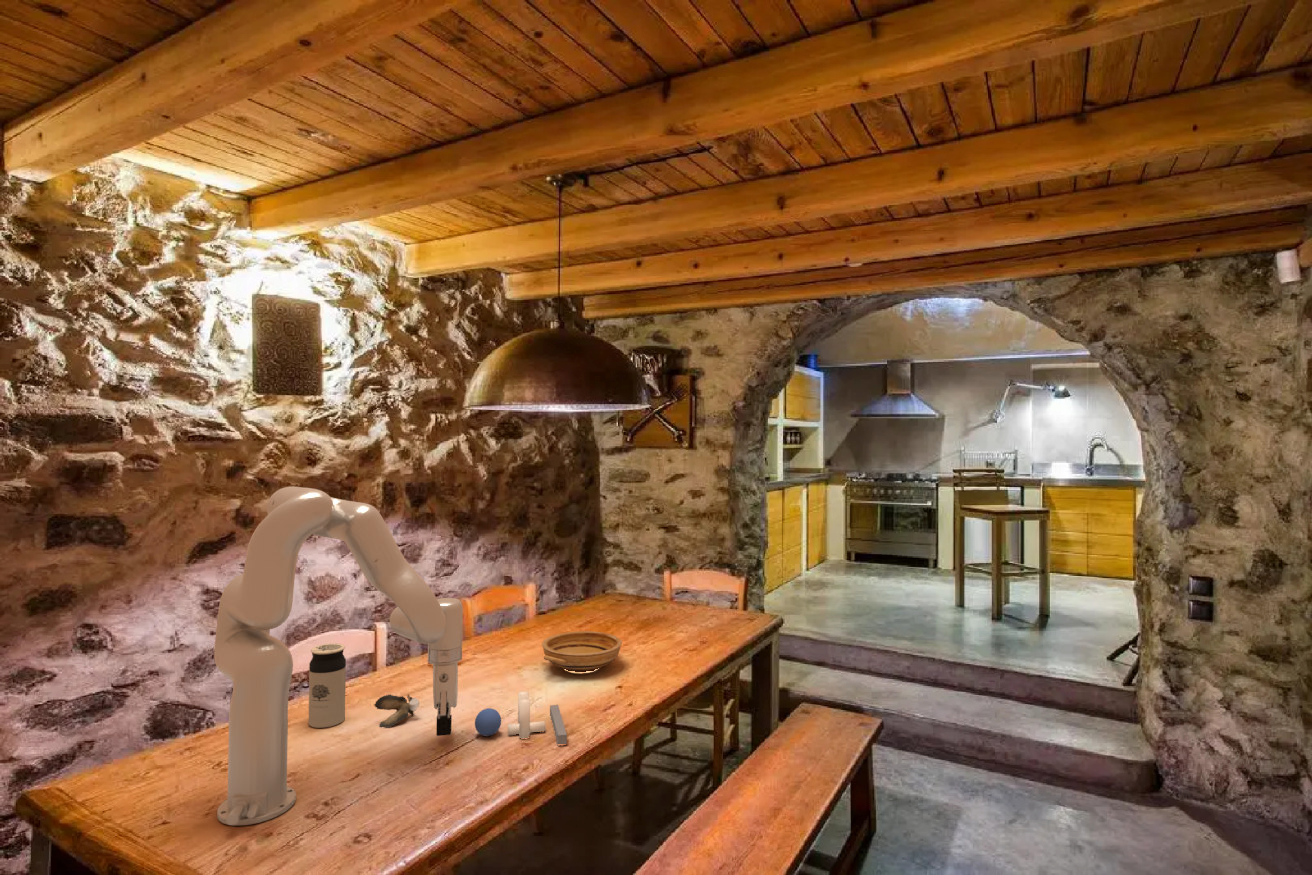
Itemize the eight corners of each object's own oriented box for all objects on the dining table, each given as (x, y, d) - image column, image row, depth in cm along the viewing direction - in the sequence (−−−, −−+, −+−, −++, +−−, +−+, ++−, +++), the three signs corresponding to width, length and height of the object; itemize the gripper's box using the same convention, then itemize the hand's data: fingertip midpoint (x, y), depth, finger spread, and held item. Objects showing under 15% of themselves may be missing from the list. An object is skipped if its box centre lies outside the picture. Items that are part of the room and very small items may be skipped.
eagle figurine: (401, 705, 173) (368, 709, 166) (414, 684, 171) (382, 688, 164) (413, 729, 168) (380, 734, 161) (427, 708, 167) (394, 712, 160)
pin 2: (530, 739, 157) (530, 702, 157) (519, 740, 156) (519, 702, 156) (529, 734, 159) (529, 698, 159) (518, 735, 158) (519, 699, 158)
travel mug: (325, 713, 170) (326, 641, 170) (352, 717, 168) (353, 644, 168) (300, 726, 162) (301, 651, 162) (328, 730, 160) (330, 654, 160)
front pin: (508, 737, 158) (545, 733, 160) (508, 727, 158) (545, 724, 160) (507, 732, 160) (544, 728, 162) (508, 722, 160) (544, 719, 162)
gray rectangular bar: (566, 745, 154) (566, 734, 154) (557, 746, 153) (557, 735, 153) (557, 714, 171) (558, 704, 171) (549, 715, 170) (550, 705, 170)
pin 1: (528, 730, 162) (529, 694, 162) (518, 731, 161) (518, 695, 161) (527, 726, 164) (528, 690, 164) (517, 726, 163) (518, 691, 163)
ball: (487, 706, 156) (469, 729, 154) (507, 722, 157) (490, 744, 155) (485, 700, 162) (468, 722, 160) (505, 715, 163) (488, 736, 161)
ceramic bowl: (583, 649, 226) (584, 625, 226) (642, 663, 212) (642, 637, 212) (517, 673, 201) (518, 646, 201) (579, 691, 188) (579, 661, 188)
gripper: (461, 662, 149) (460, 746, 149) (462, 643, 164) (461, 719, 164) (425, 665, 147) (424, 750, 147) (430, 645, 162) (429, 722, 162)
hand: (443, 733), depth 155 cm, fingers closed
